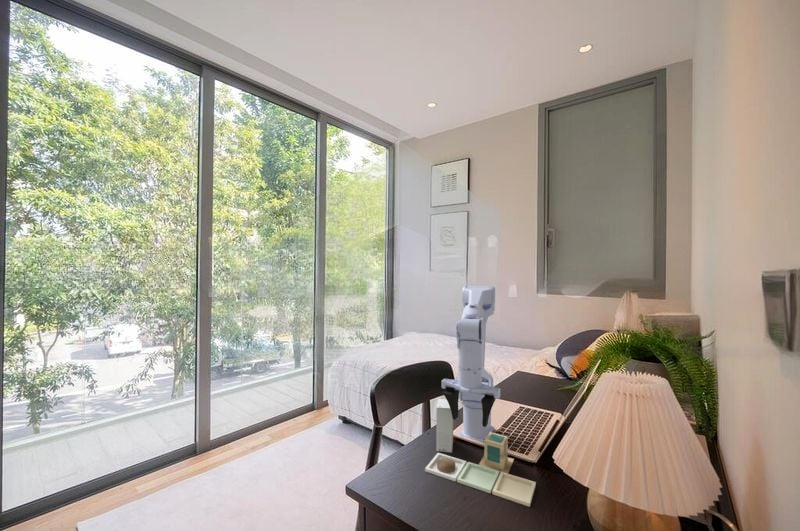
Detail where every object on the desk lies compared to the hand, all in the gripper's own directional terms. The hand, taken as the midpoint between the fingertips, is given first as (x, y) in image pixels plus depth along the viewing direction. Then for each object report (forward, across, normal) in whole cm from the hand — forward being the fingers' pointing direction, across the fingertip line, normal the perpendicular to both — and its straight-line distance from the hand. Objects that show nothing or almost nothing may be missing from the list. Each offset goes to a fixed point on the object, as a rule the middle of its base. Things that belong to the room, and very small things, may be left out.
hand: (469, 421), depth 86 cm
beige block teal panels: (+10, +6, +2) cm, 12 cm away
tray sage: (+10, +4, -5) cm, 12 cm away
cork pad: (+10, +6, +3) cm, 12 cm away
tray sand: (+11, +12, -5) cm, 17 cm away
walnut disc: (+10, -4, -5) cm, 12 cm away
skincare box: (+10, -8, +4) cm, 14 cm away
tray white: (+10, -4, -5) cm, 12 cm away
